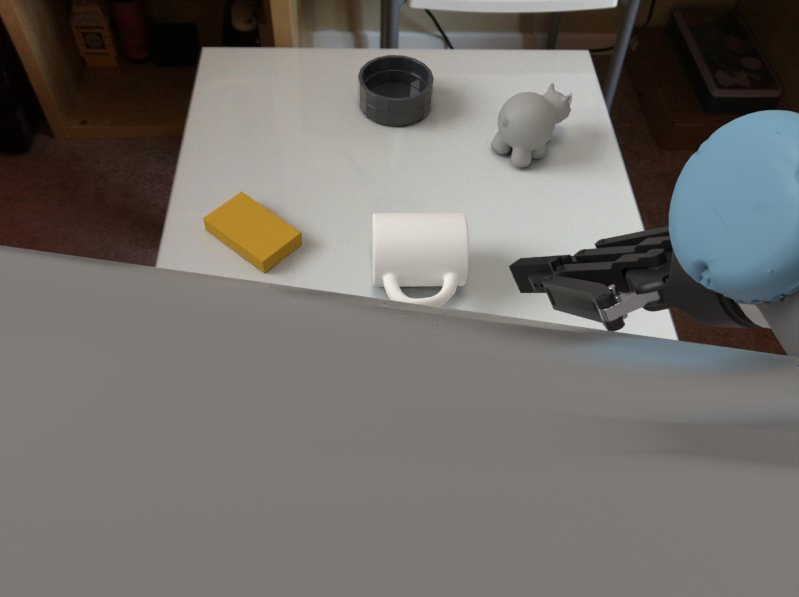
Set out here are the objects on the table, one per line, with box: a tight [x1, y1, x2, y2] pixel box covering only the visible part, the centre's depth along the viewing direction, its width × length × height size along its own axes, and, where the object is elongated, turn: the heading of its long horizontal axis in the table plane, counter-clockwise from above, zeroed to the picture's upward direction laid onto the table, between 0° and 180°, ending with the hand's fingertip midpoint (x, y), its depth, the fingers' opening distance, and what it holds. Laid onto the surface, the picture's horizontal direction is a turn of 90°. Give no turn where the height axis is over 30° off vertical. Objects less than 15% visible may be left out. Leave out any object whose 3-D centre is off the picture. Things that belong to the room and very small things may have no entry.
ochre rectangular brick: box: [202, 191, 303, 274], centre depth 85 cm, size 6×10×2 cm, turn 50°
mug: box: [371, 212, 470, 307], centre depth 79 cm, size 12×10×8 cm
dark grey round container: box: [357, 54, 435, 128], centre depth 100 cm, size 10×10×4 cm
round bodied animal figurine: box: [490, 82, 573, 168], centre depth 95 cm, size 7×12×8 cm, turn 127°
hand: (520, 275), depth 65 cm, fingers closed
